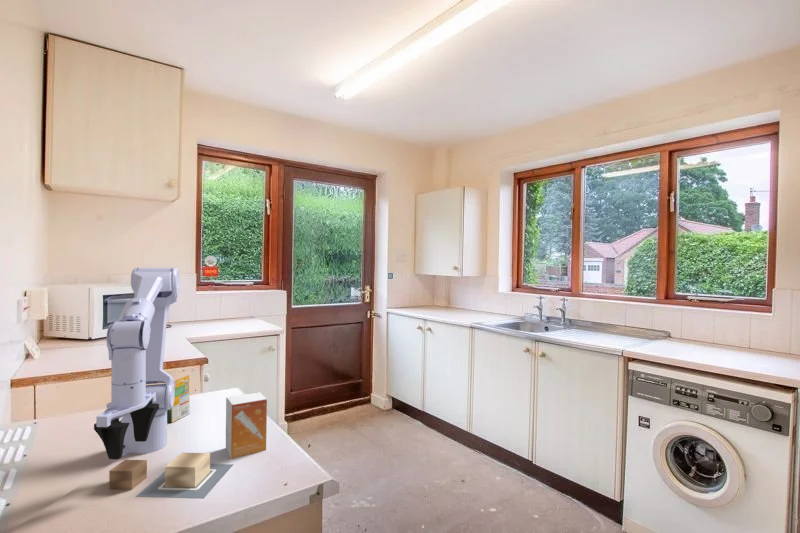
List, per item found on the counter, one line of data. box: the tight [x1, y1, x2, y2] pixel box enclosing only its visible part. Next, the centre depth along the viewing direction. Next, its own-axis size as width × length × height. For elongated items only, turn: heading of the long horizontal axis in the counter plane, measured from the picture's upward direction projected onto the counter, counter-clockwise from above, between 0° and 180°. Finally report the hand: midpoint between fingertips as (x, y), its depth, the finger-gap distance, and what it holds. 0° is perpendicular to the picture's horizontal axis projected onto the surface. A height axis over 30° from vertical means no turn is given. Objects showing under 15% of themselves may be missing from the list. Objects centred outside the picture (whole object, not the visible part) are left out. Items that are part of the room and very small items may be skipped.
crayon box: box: [167, 374, 191, 424], centre depth 119 cm, size 7×3×12 cm, turn 169°
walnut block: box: [108, 459, 148, 491], centre depth 83 cm, size 4×4×4 cm
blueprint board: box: [135, 463, 234, 499], centre depth 85 cm, size 13×13×1 cm
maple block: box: [164, 452, 211, 488], centre depth 85 cm, size 6×6×4 cm
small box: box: [225, 391, 268, 459], centre depth 98 cm, size 8×6×13 cm
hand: (128, 449), depth 83 cm, fingers open, 7 cm apart
